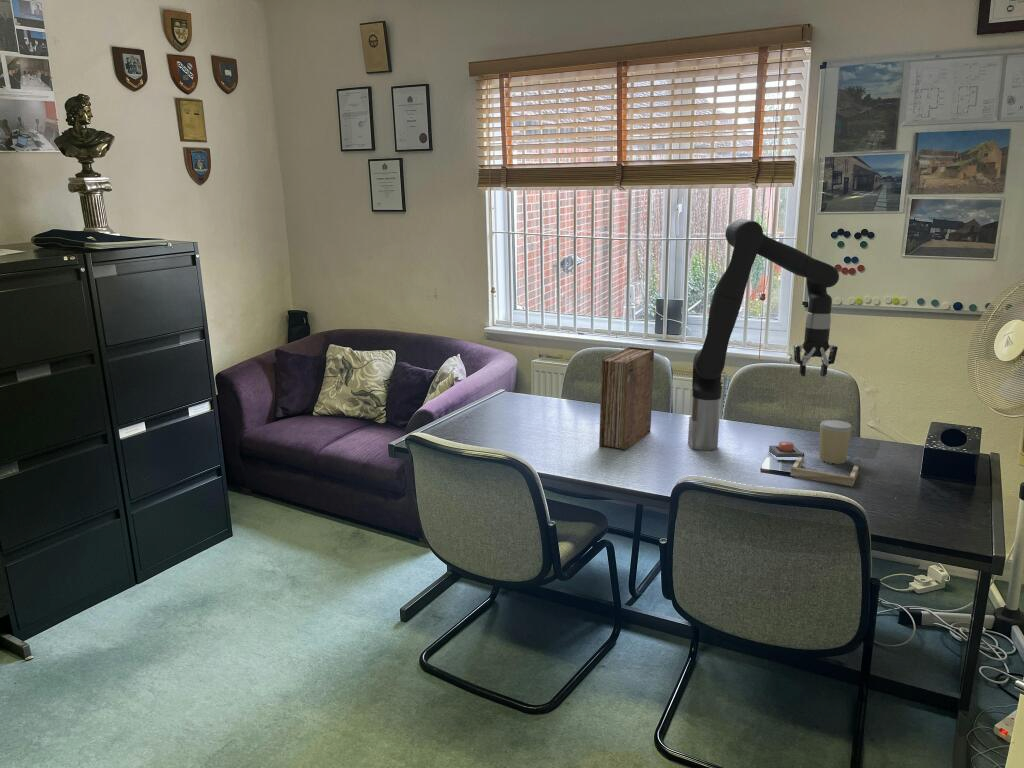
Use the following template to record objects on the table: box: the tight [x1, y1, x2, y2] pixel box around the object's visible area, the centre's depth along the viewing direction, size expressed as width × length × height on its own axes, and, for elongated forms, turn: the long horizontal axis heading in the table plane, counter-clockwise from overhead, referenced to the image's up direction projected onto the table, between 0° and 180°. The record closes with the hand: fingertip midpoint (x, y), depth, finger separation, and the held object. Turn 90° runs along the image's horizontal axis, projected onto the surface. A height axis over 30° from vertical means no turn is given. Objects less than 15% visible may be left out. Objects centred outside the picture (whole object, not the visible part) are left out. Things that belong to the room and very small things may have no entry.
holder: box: [790, 457, 859, 487], centre depth 228 cm, size 12×17×2 cm
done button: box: [778, 441, 795, 452], centre depth 244 cm, size 4×4×3 cm
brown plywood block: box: [598, 346, 655, 452], centre depth 259 cm, size 25×9×30 cm, turn 151°
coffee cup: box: [819, 419, 853, 465], centre depth 241 cm, size 9×9×12 cm
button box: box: [768, 445, 804, 458], centre depth 245 cm, size 8×8×2 cm
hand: (812, 375), depth 253 cm, fingers open, 6 cm apart
